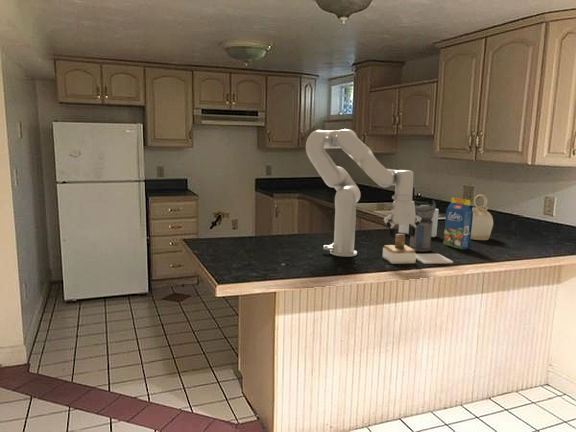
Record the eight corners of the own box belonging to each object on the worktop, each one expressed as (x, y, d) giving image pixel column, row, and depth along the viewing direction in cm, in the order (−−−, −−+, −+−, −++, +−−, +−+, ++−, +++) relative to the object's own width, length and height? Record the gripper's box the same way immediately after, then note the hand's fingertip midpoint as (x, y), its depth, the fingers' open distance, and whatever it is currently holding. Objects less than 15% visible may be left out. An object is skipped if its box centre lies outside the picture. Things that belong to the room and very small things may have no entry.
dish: (391, 263, 203) (392, 253, 202) (382, 257, 213) (383, 247, 212) (415, 263, 204) (416, 253, 204) (404, 256, 215) (405, 247, 214)
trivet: (423, 263, 204) (423, 261, 204) (410, 255, 218) (410, 253, 218) (453, 263, 206) (453, 261, 206) (437, 255, 220) (438, 253, 220)
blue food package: (451, 243, 247) (455, 197, 242) (469, 248, 236) (474, 200, 232) (442, 244, 244) (447, 197, 239) (461, 249, 233) (465, 200, 229)
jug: (478, 234, 273) (482, 192, 269) (497, 240, 259) (502, 196, 254) (456, 235, 268) (460, 192, 264) (475, 241, 254) (479, 196, 250)
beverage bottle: (405, 246, 237) (409, 197, 233) (432, 249, 232) (436, 199, 228) (402, 250, 227) (406, 199, 223) (431, 253, 223) (435, 202, 219)
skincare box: (436, 236, 266) (439, 208, 263) (434, 237, 261) (436, 209, 258) (401, 231, 277) (403, 204, 274) (397, 232, 272) (399, 205, 269)
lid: (392, 253, 202) (393, 237, 201) (383, 247, 212) (385, 232, 211) (415, 253, 204) (416, 237, 203) (405, 247, 214) (406, 232, 213)
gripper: (388, 199, 199) (386, 238, 202) (425, 199, 202) (423, 237, 205) (381, 197, 206) (380, 235, 209) (418, 197, 209) (416, 234, 212)
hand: (401, 236), depth 207 cm, fingers open, 9 cm apart
